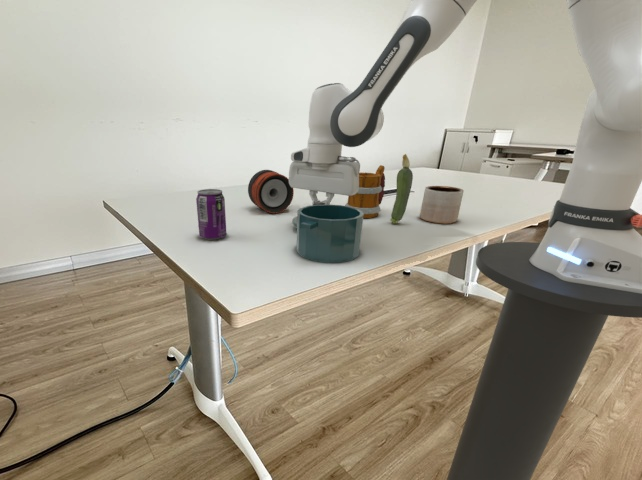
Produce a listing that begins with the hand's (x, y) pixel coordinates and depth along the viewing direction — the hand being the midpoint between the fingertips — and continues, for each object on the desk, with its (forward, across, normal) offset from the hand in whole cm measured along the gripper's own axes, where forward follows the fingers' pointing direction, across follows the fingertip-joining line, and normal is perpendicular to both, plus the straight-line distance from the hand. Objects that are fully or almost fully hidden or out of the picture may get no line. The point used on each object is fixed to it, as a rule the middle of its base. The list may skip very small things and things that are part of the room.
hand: (320, 207), depth 95 cm
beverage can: (+6, +18, +24) cm, 31 cm away
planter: (+6, -23, -33) cm, 41 cm away
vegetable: (+6, -15, -20) cm, 26 cm away
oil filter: (+6, +26, -9) cm, 28 cm away
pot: (+6, -11, +14) cm, 19 cm away
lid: (+4, 0, 0) cm, 4 cm away
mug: (+6, -2, -26) cm, 27 cm away
